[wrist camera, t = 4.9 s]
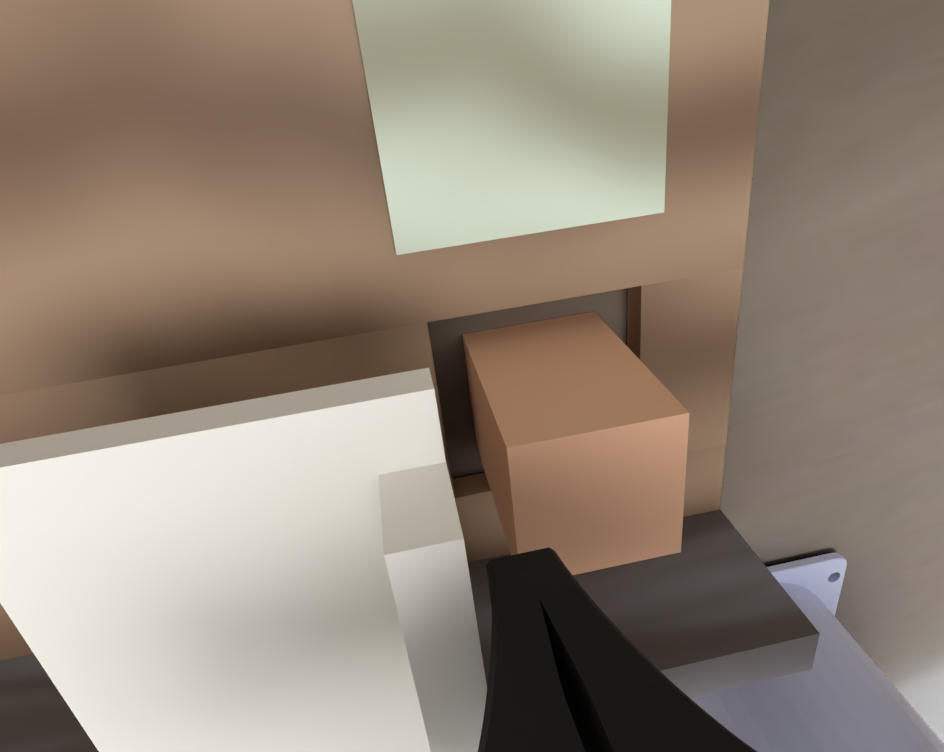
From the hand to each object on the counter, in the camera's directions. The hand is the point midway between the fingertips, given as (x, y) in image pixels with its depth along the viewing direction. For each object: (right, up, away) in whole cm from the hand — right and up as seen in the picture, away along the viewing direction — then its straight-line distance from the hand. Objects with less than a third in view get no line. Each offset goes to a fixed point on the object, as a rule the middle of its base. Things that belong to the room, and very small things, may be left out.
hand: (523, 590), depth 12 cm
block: (+1, +4, +7) cm, 8 cm away
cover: (-5, -2, +2) cm, 6 cm away
